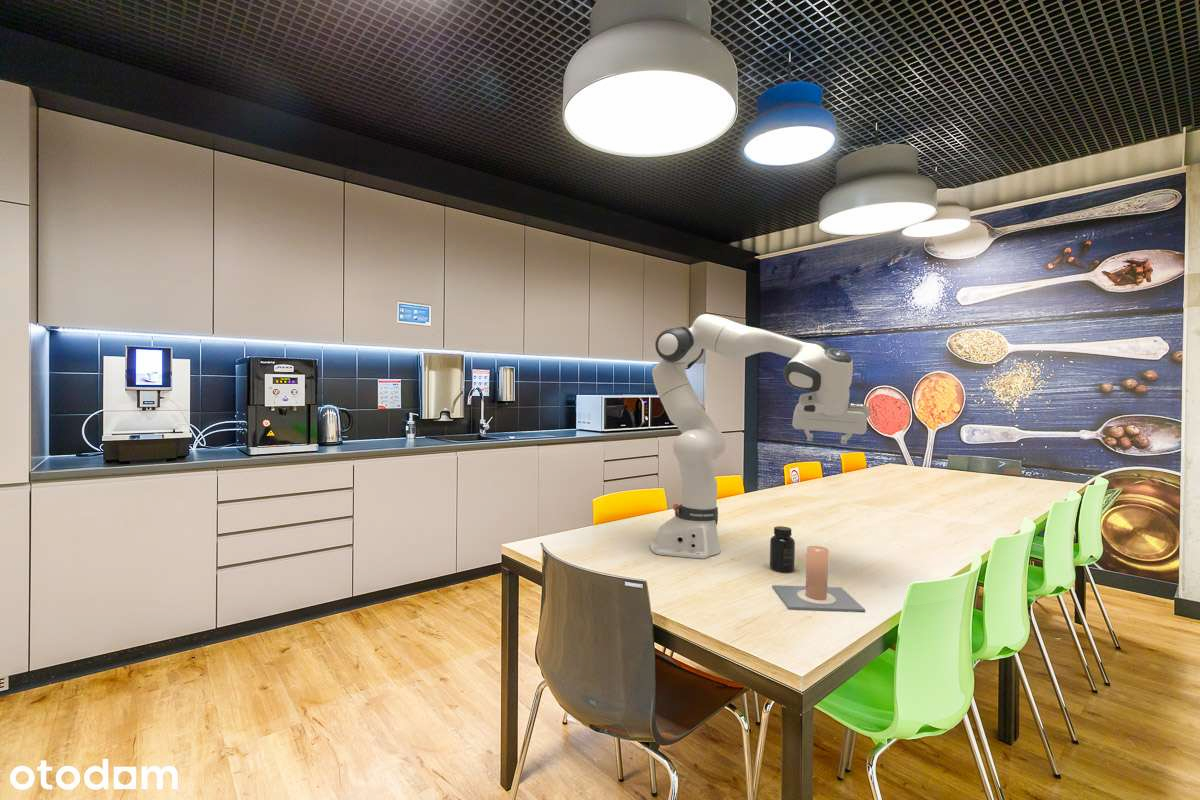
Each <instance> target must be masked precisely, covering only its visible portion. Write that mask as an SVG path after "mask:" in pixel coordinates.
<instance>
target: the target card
mask: <svg viewBox="0 0 1200 800" xmlns="http://www.w3.org/2000/svg"><path fill="white" fill-rule="evenodd" d="M771 588H772V589H773V591H774V592H775V593H776V594H777V596H778V597H779V599H780V600H781V601H782V602H783V604H784V605H785V606H786V607H787V609H788V610H792V611H793V610H794V611H795V610H796V611H799V610H801V611H825V612H848V611H865V612H866V608H865V607H863V606H862V605H861V603H859V602H858V601H857V600H855V598H853V597H852V595H850V594H849V593H848V592H847V591H845V589H843V587H836V586H827V599H826V600H814V599H810V598H808V597H807V596H806V595H805V593H806V585H802V586H801V585H783V584H782V585H775V584H774V585H773V584H772V586H771Z"/></svg>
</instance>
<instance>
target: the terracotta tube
mask: <svg viewBox="0 0 1200 800" xmlns="http://www.w3.org/2000/svg"><path fill="white" fill-rule="evenodd" d="M806 548H807V549H806V570H805V571H806V572H805V586H806V593H805V595H806V596H807V597H808V598H810V599H814V600H826V599H827V587H828V577H829V553H830V552H829V549H828V548H826V547H823V546H819V545H810V546H807V547H806Z"/></svg>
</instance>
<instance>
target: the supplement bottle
mask: <svg viewBox="0 0 1200 800" xmlns="http://www.w3.org/2000/svg"><path fill="white" fill-rule="evenodd" d="M773 534H774V535H773V536H771V537H770V541H769V543H770V546H769V568H770V569H771V570H772V571H775V572H779V573H792V572H794V571H795V559H796V558H795V556H796V555H795V554H796V552H795V551H796V542H795V539H794V538H793V537H792V535H793V534H792V528H791V527H787V526H782V525H781V526H774V528H773Z"/></svg>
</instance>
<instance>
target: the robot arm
mask: <svg viewBox="0 0 1200 800" xmlns="http://www.w3.org/2000/svg"><path fill="white" fill-rule="evenodd" d="M705 350H708V351H710V352H712V353H715V354H717V355H719V356H721V357H725V359H726V358H727V359H732V360H741V359H745V358H747V357H750V356H753V355H755V354H759V353H769V352H770V353H773V354H776V355H780V356H783V357H786V358H790V360H789V361H788V363H786V365H784V368H783V378H784V379H785V382H786V383H787V385H789V386H790V387H791V388H793V389H795V390H799V391H805V392H807V393H801V394H800V396H799V399H798V403H797V404H796V405H795V408H794V410H793V417H792V422H791V423H792V424H791V425H792V427H793V429H795V430H803V431H804V434H805V435H806V439H807V440H806V441H808V442H813V438H814V435H813V433H811V432H810V431H818V432H828V433H829V432H830V433H841V434H845V435H843V436H842V435H841V437H840V438H841V439H840V444H842V445H847V444H848V440H849V439H851V438H852V436H853V435H855V434H856V435H864V434H866V433H867V428H868V420H867V419H868V418H869V417H870V415H871V408H870V407H869V406H867V405H865V404H862V403H861V404H857V403H849V402H850V387H851V386H852V380H853V372H854V371H853V370H854V365H853V363H854V362H853V358H852V356H851V355H850V353H848V351H846V350H844V349H841V348H836V347H831V346H830V345H829V344H828V343H826V342H823V341H820V340H813V339H812V340H811V339H810V340H806V339H805V340H804V339H800V338H797V337H794V336H791V335H787V334H784V333H779V332H777V331H774V330H769V329H765V328H759V327H753V326H748V325H745V324H742V323H739V322H735V321H733V320H730V319H728V318H725V317H722V316H718V315H714V314H709V313H703V314H700V315H698V317H696V319H695V320H693V323H692V325H691V326H690V327H689V328H688V327H687V326H678V327H671V328H668V329H665V330H663V331H662V332H660V333H659V334H658V335H657V337H656V339H655V351H656V353H657V355H658V356H659V357H660V358H661V359H662V360H661V361H659V362H658V363H656V365H654V367H653V368H652V372H651V376H652V379H653V383H654V387H655V390H656V392H657V396H658V398H659V399H660V403H661V404H662V406H663V408H664V410H665V413H666V414H667V416H668V419H669V421H670V422H671V423H672V424H673V425H675V426H676V427H677V429H678V430H679V431H680V433H681V434H679V435H678V436H677V437H676V438H675V439H674V442H673V446H672V450H673V453H674V456H675V458H676V459H677V461H678V465H679V469H680V470H679V471H680V476H681V477H680V478H681V503H680V504H678V503H674V504H673V505H672V509H673V511H674V516H673V517H672V518H670V519H669V520H667V521H666V522H664V523H663V524H661V525H660V526H659V528H658V530H657V532H656V538H655V539H652V540H651V541H650V542H649V549H650V551H651V552H652V553H653V554H656V555H661V556H671V557H682V558H692V559H693V558H694V559H703V560H704V559H707V558H708V557H710V556H715V555H718V554H720V553H721V547H720V544H719V542H720V541H719V538H718V537H719V536H718V527H717V525H718V522H719V507H718V506H717V504H718V503H717V501H718V500H717V499H718V498H717V497H718V482H717V480H716V478H715V474H714V468H713V461H714V460H716V459H718V458H719V457H720V456H721V455H723V453H724V452H725V450H726V448H727V439H726V437H725V434H723V432H722V431H720V430H719V429H718V428H717V426H716V425H715V423H714V422H713V421H712V419H711V418H710V416H709V415H708V414H707V412H706V411H705V409H704V408H703V406H702V405H701V403H700V401H699V399H698V397H697V394H696V392H695V390H694V388H693V387H692V386H693V385H692V384H691V382H690V379H689V378H688V375H687V372H686V370H688V369H689V370H690V368H691V367H692V366H694V364H696V363H697V361H699V360H700V359H701V358H702V356H703V355H704V353H705Z"/></svg>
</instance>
